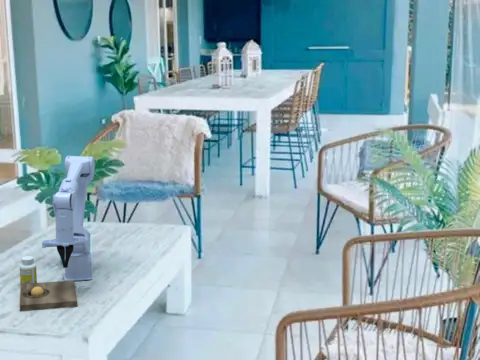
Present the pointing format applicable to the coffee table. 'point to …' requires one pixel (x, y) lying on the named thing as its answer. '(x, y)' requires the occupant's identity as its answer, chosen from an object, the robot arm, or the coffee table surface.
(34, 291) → the ball
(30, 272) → the supplement bottle
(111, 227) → the coffee table surface
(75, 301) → the wooden board with hole
